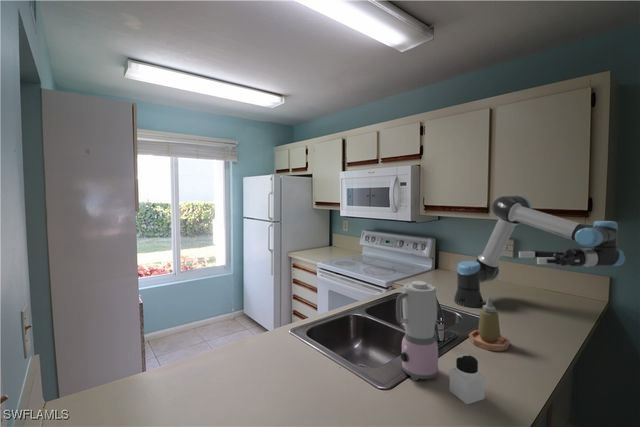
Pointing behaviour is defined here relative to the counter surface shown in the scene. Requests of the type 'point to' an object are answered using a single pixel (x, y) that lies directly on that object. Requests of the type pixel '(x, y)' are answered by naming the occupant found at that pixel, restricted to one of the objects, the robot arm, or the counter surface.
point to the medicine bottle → (467, 380)
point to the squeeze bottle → (489, 323)
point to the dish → (498, 346)
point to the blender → (418, 329)
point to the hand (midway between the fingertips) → (528, 257)
